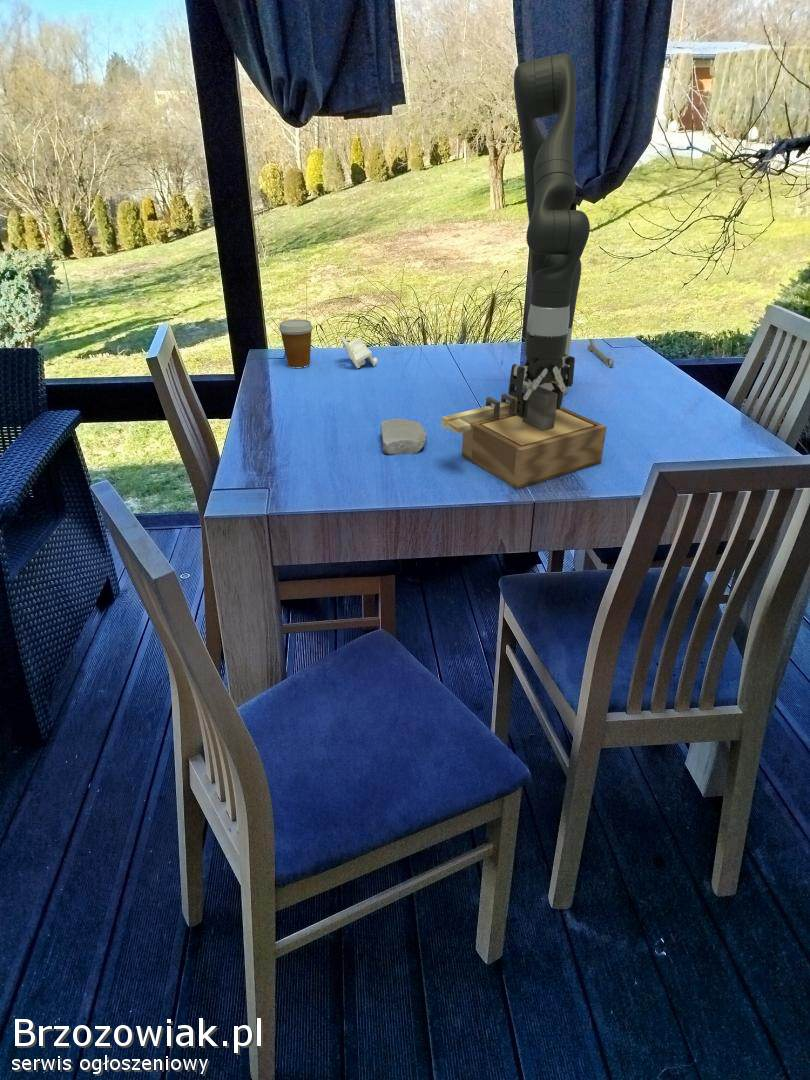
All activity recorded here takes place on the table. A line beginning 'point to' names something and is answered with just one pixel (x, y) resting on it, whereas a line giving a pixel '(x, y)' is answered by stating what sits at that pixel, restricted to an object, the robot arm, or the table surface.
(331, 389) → the table surface
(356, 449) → the table surface
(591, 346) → the combination wrench
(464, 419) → the yellow latch bar
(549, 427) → the lid
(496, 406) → the wooden box
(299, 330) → the disposable coffee cup
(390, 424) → the stone block
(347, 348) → the mounting bracket
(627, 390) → the table surface
